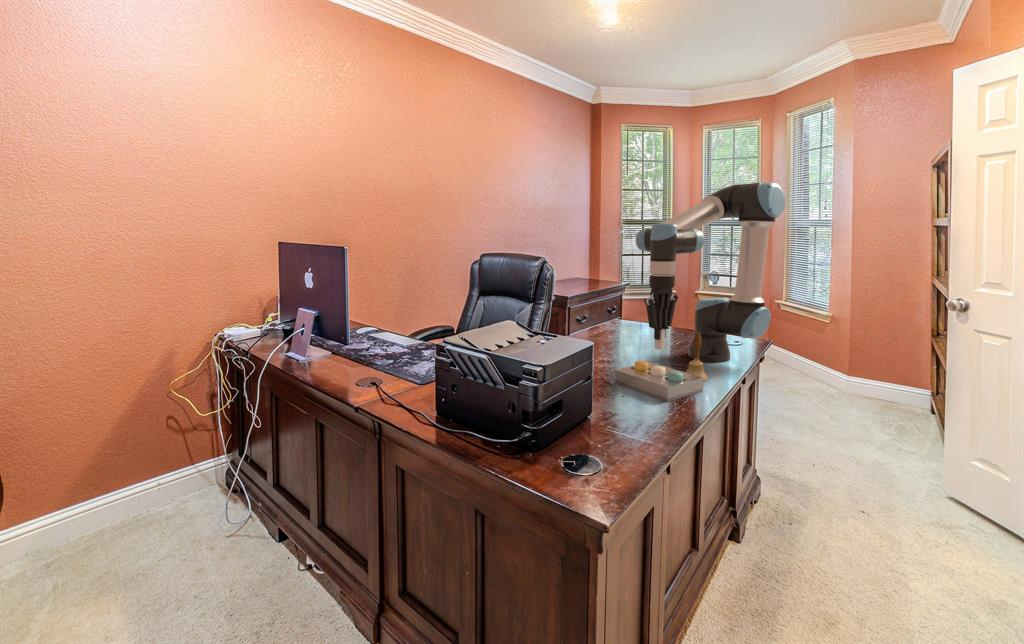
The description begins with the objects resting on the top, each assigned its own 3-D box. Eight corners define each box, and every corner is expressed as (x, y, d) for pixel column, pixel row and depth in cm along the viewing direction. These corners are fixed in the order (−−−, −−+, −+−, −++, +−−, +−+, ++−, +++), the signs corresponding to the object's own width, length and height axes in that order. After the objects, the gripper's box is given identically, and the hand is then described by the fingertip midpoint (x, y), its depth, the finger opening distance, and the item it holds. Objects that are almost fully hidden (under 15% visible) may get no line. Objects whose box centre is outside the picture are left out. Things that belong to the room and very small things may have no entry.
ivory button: (657, 378, 166) (657, 364, 165) (668, 381, 162) (668, 368, 161) (647, 380, 163) (647, 367, 162) (658, 384, 159) (658, 370, 158)
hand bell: (710, 382, 167) (713, 335, 164) (684, 381, 169) (686, 334, 166) (706, 374, 175) (709, 329, 172) (680, 373, 177) (683, 329, 174)
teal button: (674, 383, 160) (674, 369, 159) (686, 387, 156) (687, 373, 155) (664, 386, 157) (664, 372, 156) (676, 390, 154) (676, 376, 153)
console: (648, 374, 176) (649, 362, 175) (702, 391, 158) (703, 377, 157) (614, 382, 168) (615, 369, 167) (667, 402, 150) (668, 387, 149)
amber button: (640, 373, 171) (641, 360, 171) (651, 376, 168) (651, 363, 167) (631, 375, 169) (631, 362, 168) (641, 378, 165) (642, 365, 164)
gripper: (667, 272, 162) (664, 343, 167) (637, 275, 155) (635, 349, 160) (686, 273, 156) (682, 348, 161) (656, 277, 149) (654, 354, 154)
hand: (659, 349), depth 161 cm, fingers closed
